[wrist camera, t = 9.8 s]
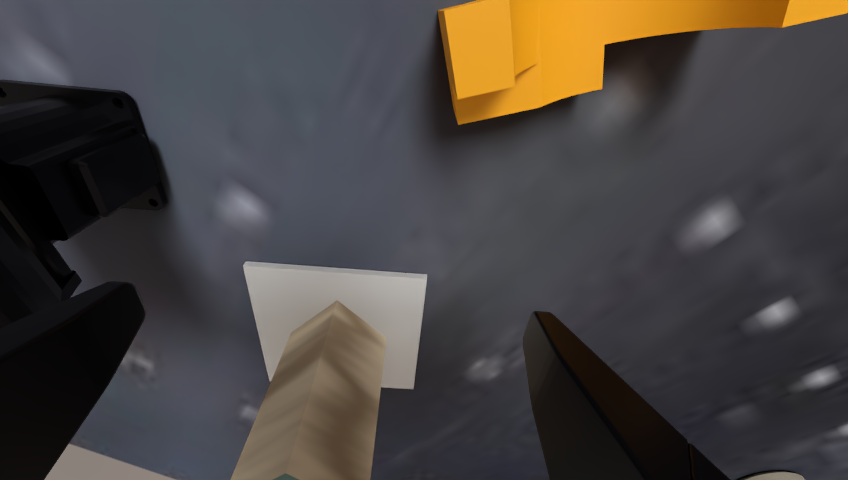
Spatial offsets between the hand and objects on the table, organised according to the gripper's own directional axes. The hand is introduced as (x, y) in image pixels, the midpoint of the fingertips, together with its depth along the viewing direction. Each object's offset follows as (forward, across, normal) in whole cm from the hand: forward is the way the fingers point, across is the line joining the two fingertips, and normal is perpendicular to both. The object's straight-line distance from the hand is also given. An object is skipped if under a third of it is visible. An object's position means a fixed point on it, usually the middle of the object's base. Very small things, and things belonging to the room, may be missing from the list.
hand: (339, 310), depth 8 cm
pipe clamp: (+13, -8, -6) cm, 17 cm away
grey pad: (+13, +3, +15) cm, 20 cm away
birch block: (+12, +3, +15) cm, 20 cm away
